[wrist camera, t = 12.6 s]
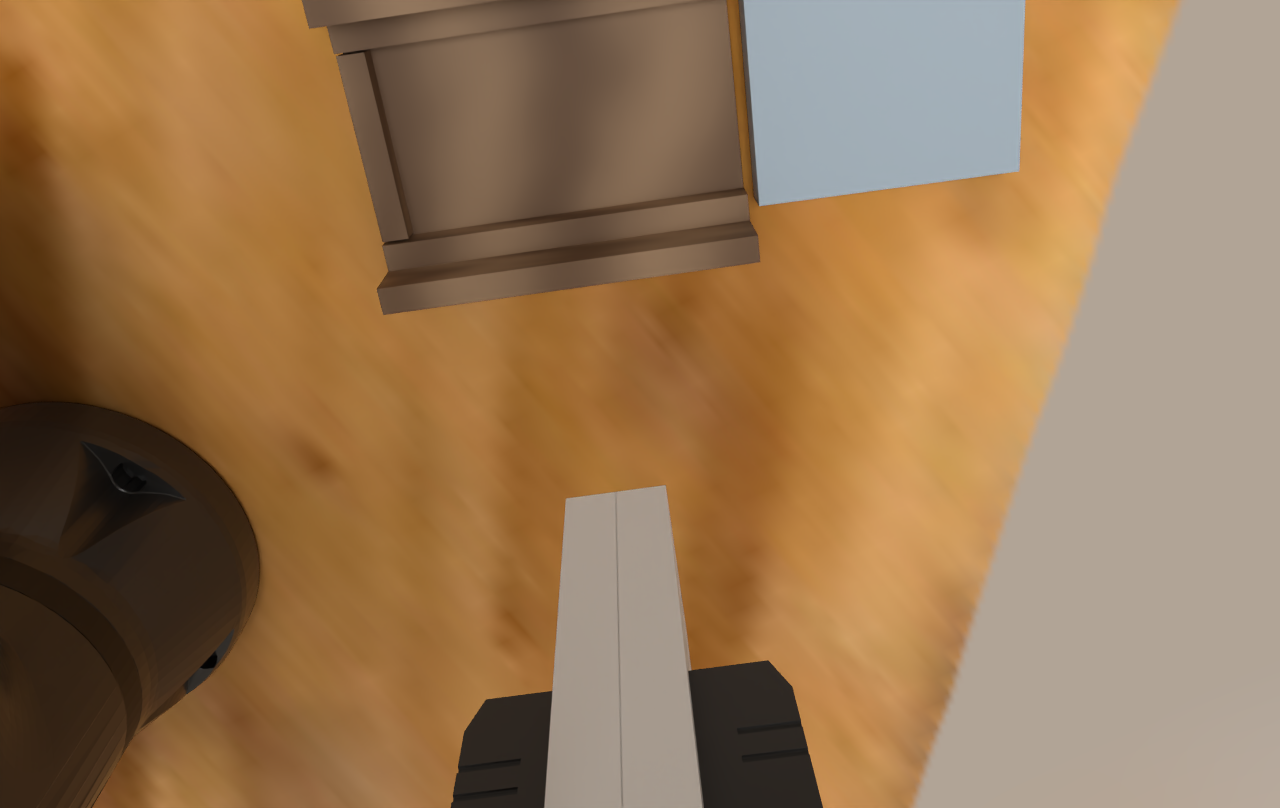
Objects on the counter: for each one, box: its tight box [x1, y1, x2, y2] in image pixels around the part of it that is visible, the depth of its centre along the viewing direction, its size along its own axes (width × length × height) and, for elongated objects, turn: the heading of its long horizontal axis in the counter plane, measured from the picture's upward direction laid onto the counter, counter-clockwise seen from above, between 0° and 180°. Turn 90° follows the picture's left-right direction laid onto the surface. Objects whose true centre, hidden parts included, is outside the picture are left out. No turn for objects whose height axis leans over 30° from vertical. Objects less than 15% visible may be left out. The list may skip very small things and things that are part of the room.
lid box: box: [302, 0, 760, 315], centre depth 36 cm, size 14×11×4 cm
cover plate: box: [738, 0, 1025, 206], centre depth 37 cm, size 10×8×2 cm
